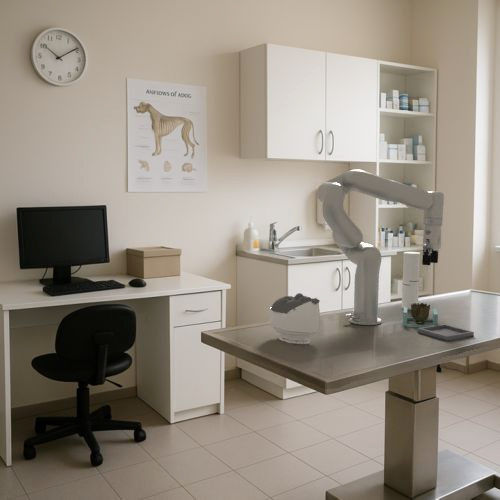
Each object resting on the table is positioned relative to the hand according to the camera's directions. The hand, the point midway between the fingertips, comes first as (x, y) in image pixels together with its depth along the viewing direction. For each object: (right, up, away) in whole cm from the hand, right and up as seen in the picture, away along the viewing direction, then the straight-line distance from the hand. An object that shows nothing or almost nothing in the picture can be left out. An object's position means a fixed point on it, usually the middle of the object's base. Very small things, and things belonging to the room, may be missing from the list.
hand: (430, 263), depth 250 cm
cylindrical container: (-2, -21, +26) cm, 33 cm away
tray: (-1, -26, -22) cm, 34 cm away
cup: (-6, -24, -5) cm, 25 cm away
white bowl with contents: (-57, -27, -31) cm, 71 cm away
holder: (-6, -24, -5) cm, 25 cm away
